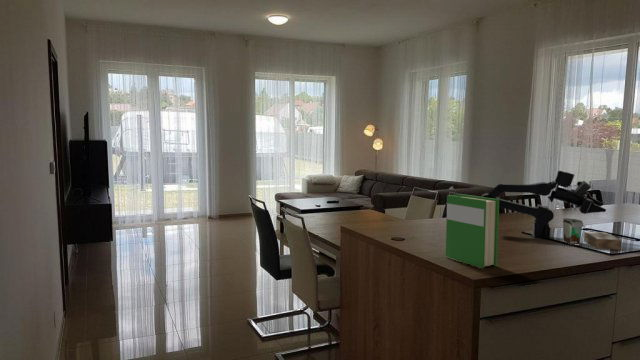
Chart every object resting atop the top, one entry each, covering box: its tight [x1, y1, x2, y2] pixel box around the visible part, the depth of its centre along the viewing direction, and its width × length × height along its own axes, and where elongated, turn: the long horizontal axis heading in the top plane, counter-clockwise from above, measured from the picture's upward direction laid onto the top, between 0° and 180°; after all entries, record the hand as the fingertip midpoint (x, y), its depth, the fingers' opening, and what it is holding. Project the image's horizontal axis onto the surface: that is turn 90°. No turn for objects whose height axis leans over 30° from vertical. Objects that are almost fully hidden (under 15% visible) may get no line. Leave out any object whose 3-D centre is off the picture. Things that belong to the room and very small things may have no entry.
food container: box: [562, 217, 585, 246], centre depth 196 cm, size 12×6×10 cm, turn 168°
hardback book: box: [445, 194, 500, 269], centre depth 165 cm, size 18×7×24 cm, turn 28°
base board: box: [583, 231, 622, 251], centre depth 192 cm, size 9×15×4 cm, turn 167°
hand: (604, 207), depth 199 cm, fingers open, 9 cm apart
